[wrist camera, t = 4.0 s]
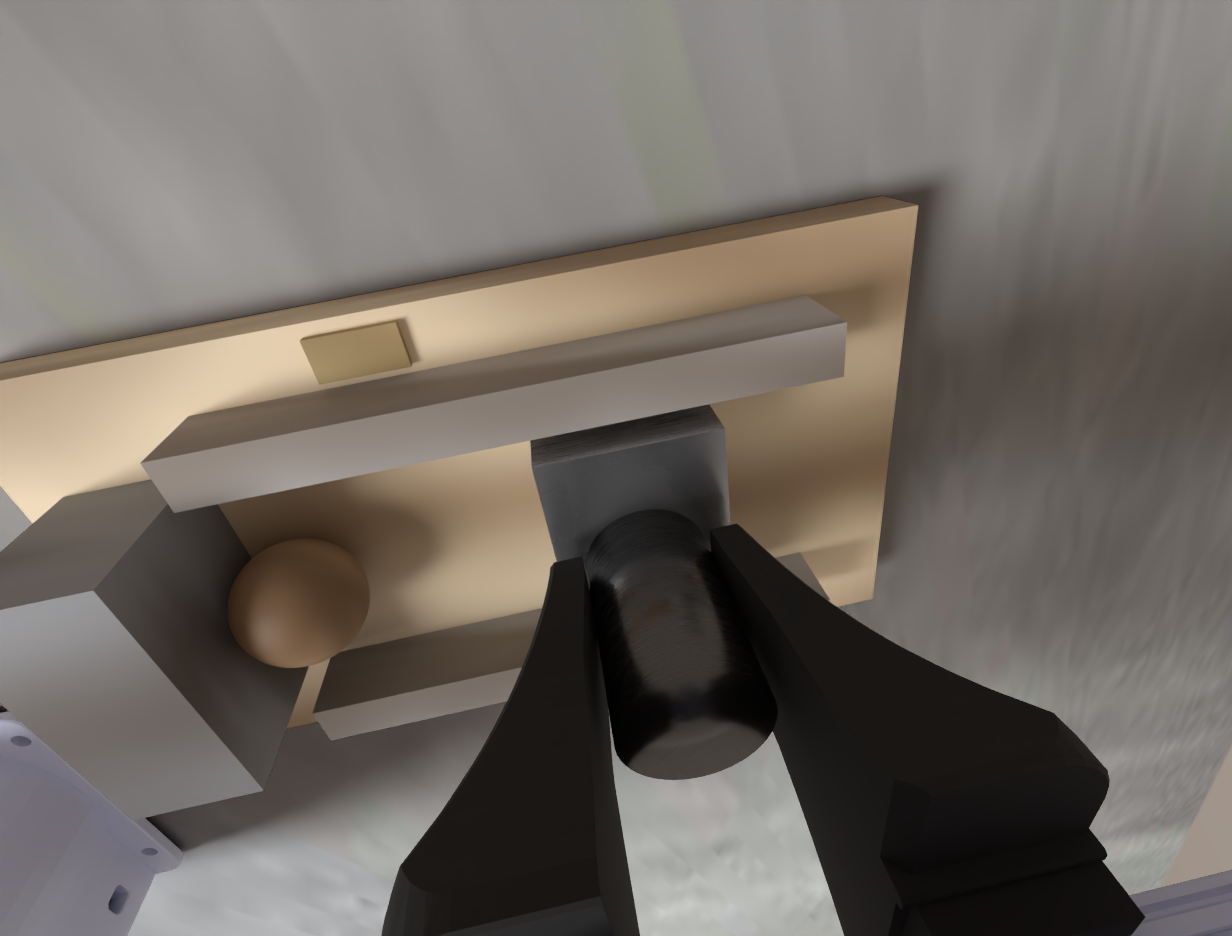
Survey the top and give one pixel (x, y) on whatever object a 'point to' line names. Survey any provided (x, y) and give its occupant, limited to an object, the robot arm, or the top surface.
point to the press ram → (658, 588)
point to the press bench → (410, 484)
